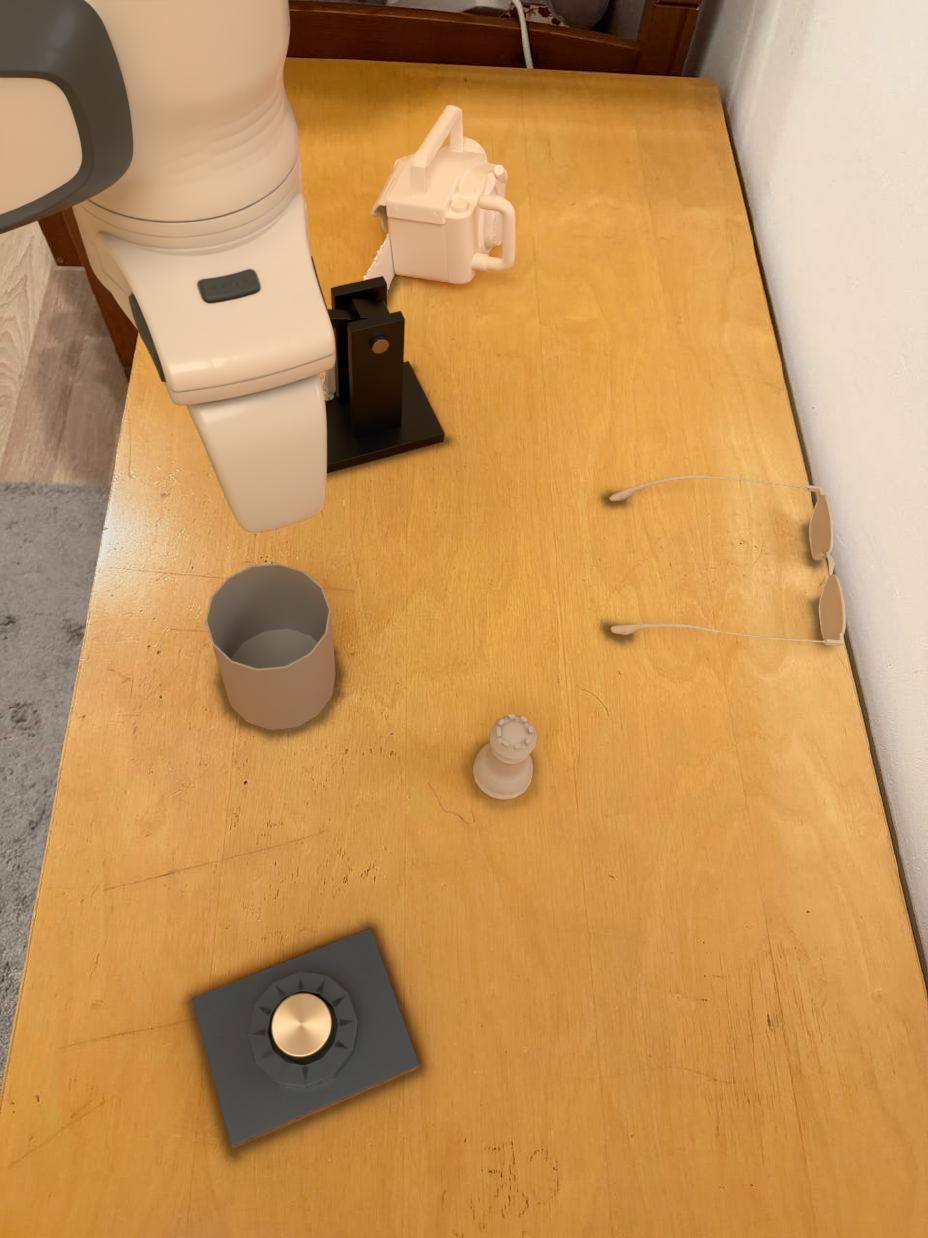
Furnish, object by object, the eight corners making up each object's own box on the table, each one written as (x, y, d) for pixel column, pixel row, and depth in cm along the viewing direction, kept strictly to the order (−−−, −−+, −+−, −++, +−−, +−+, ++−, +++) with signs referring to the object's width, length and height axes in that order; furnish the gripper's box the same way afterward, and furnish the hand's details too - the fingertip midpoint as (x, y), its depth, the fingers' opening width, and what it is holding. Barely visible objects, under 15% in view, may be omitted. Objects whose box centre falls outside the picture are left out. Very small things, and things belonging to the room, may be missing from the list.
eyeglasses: (830, 664, 82) (850, 641, 78) (609, 644, 81) (620, 619, 78) (810, 509, 89) (827, 482, 86) (608, 489, 89) (617, 461, 85)
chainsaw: (296, 409, 91) (268, 296, 80) (412, 179, 109) (402, 63, 98) (458, 438, 88) (451, 326, 78) (549, 198, 106) (554, 80, 96)
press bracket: (326, 474, 87) (318, 360, 75) (294, 398, 91) (281, 278, 79) (444, 441, 90) (454, 327, 78) (408, 369, 94) (413, 249, 82)
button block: (235, 1148, 62) (227, 1146, 58) (196, 1003, 66) (186, 993, 62) (418, 1068, 65) (420, 1062, 61) (370, 934, 69) (370, 921, 65)
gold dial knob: (283, 1070, 61) (281, 1067, 59) (266, 1011, 62) (263, 1006, 61) (340, 1046, 62) (339, 1042, 60) (322, 988, 63) (320, 983, 62)
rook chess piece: (471, 800, 74) (481, 760, 67) (473, 743, 76) (482, 698, 69) (531, 803, 74) (548, 764, 67) (532, 747, 76) (547, 703, 69)
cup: (206, 709, 76) (184, 647, 67) (250, 619, 80) (235, 549, 71) (312, 743, 75) (304, 685, 66) (351, 650, 79) (348, 584, 70)
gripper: (56, 67, 44) (126, 309, 56) (178, 414, 35) (229, 611, 47) (200, 44, 45) (237, 284, 57) (351, 370, 37) (358, 572, 49)
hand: (234, 434), depth 52 cm, fingers closed
